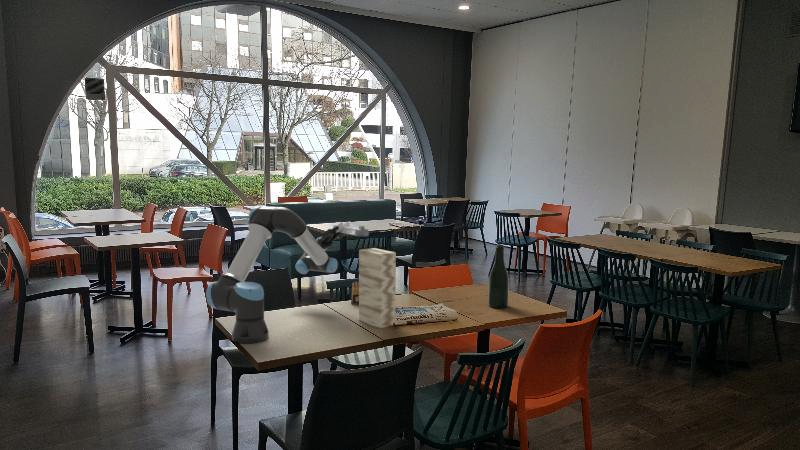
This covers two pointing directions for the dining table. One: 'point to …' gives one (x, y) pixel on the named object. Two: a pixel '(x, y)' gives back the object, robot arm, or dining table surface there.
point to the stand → (377, 287)
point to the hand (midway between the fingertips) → (345, 224)
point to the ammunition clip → (355, 294)
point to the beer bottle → (498, 281)
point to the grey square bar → (354, 231)
